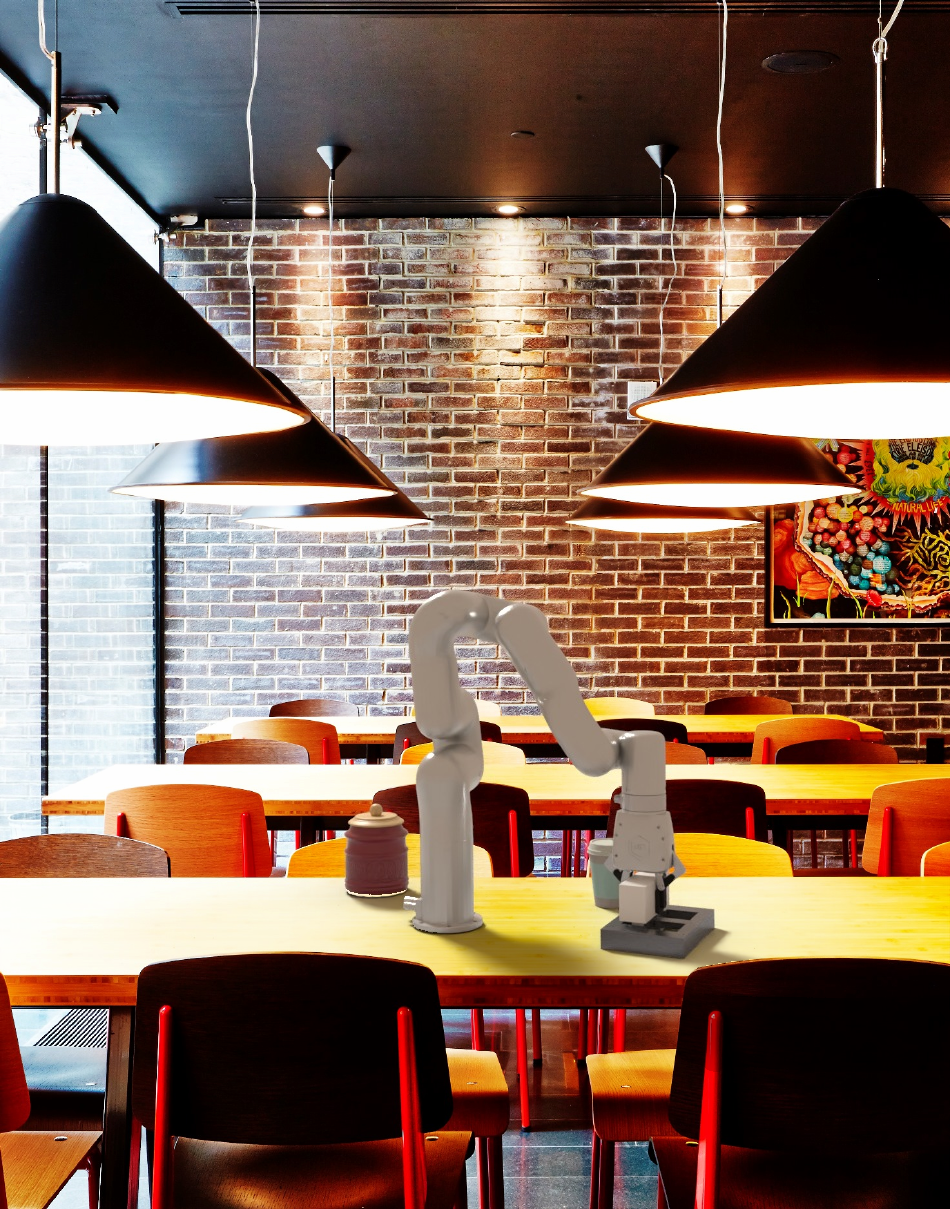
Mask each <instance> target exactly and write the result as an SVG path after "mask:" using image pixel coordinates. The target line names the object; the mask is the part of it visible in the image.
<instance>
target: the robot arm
mask: <svg viewBox="0 0 950 1209" xmlns="http://www.w3.org/2000/svg"><path fill="white" fill-rule="evenodd" d="M409 624H410V625H409V629H408V639H407V642H408V643H407V644H408V653H409V654H408V655H409V662H410V672H411V673H410V674H411V676H410V677H411V685H412V695H413V696H412V697H413V706H414V716H415V717H414V718H415V723H416V726H417V729H418V730H419V732H420V733H421V734H422V735H423V736H425V737H426V738H427V739H430V740H432V748H433V750H432V751H430V752H429V753H427V754H426V755H425V756H423V759H421V761H420V763H419V765H418V767H417V771H416V774H415V776H416V777H415V790H416V795H417V796H416V797H417V803H418V811H419V812H418V813H419V814H418V815H419V845H420V846H419V847H420V848H419V849H420V850H419V852H420V854H419V855H420V856H419V857H420V862H419V863H420V865H419V866H420V867H419V868H420V897H414V896H405V897H404V899H403V905H402V908H403V909H404V911H405V910H406V911H414V912H415V915H414V916H413V917H412V920H411V922H412V926H413V925H414V926H413V927H414V928H415V927H416V928H415V929H417V930H419V929H421V930H420V931H422V930H425V931H424V932H426V931H428V932H427V933H433V932H437V933H436V934H455V933H456V934H458V933H465V932H468V931H469V932H470V931H473V930H477V929H479V928H480V927H481V926H483V923H484V922H483V916H482V914H480V913H478V912H475V897H474V896H475V892H474V890H475V889H474V888H475V887H474V886H475V885H474V884H475V883H474V881H475V879H474V877H475V876H474V873H475V872H474V830H473V829H474V825H473V812H472V804H471V793H470V792H471V791H472V790H474V789H475V788H476V787H477V786H478V785H479V784H480V782H481V780H482V778H483V777H484V776H483V775H484V771H485V770H484V769H485V764H484V763H485V761H484V759H485V758H484V750H483V743H482V742H483V740H482V733H481V732H482V731H481V724H480V723H481V722H480V715H479V709H478V706H477V703H476V700H475V699H474V696H472V694H471V693H470V692H469V691H468V690H467V689H466V688H463V687H461V685H460V678H459V666H458V659H457V656H456V652H455V641H456V639H457V638H463V637H464V638H465V637H466V638H472V639H475V640H481V641H483V642H484V641H485V642H488V643H492V644H497V645H499V646H500V647H501V650H503V652H504V654H505V655H506V656H507V658H508V659H509V661H510V662H511V664H512V665H513V667H514V669H515V670H516V671H517V673H518V674H519V676H520V678H522V681H523V682H524V684H525V685H526V687H527V688H528V690H529V691H530V693H531V694H532V696H533V698H534V700H535V703H536V705H537V708H538V709H539V711H540V712H541V714H542V717H543V718H544V721H545V722H546V725H547V726H548V727H549V730H550V732H551V734H552V735H553V737H554V738H555V740H556V741H557V743H558V745H559V746H560V747H561V750H562V751H563V752H564V754H565V755H566V756H567V758H568V759H569V761H570V762H571V763H572V765H573V766H574V768H575V769H577V770H578V771H579V772H580V773H581V774H582V775H585V776H588V777H592V778H596V777H597V778H599V777H602V776H604V775H606V774H608V773H610V772H611V771H613V770H620V771H621V792H620V793H619V794H615V795H614V796H613V801H614V803H617V804H620V808H621V809H618V810H616V815H615V819H614V820H615V821H614V828H613V836H612V838H613V850H612V853H611V854H610V856H609V857H608V859H607V860H606V861H605V863H604V866H605V867H606V868H607V869H608V870H609V871H610V872H612V873H613V874H614V876H615V877H616V878H617V879H618V880H619V881H620V883H622V882H624V881H625V880H627V879H628V878H630V877H631V876H633V875H634V874H635V872H636V873H637V872H647V873H654V874H655V878H656V882H657V890H655V913H656V914H660V913H661V912H662V911H663V910H664V908H666V905H667V887H668V886H669V887H670V885H671V884H672V883H673V882H674V881H675V880H677V879H678V878H680V877H681V876H683V875H684V874H685V873H686V872H687V869H686V866H684V864H683V862H682V860H680V858H679V857H678V855H677V854H676V845H675V844H676V843H675V836H674V834H675V833H674V828H673V822H672V817H671V812H670V811H668V810H667V794H666V793H667V791H666V790H667V784H666V783H667V780H666V777H667V775H666V774H667V772H666V767H667V766H666V764H667V763H666V762H667V761H666V738H665V736H664V734H662V733H661V732H659V731H654V730H631V731H627V730H626V731H625V730H619V729H612V728H611V729H610V728H605V727H601V726H600V725H599V723H598V722H597V720H596V719H595V718H594V716H593V714H592V713H591V712H590V710H589V708H588V706H587V704H586V703H585V700H584V698H583V696H582V693H581V691H580V686H579V682H578V676H577V674H576V672H575V669H574V667H573V665H571V663H570V661H569V660H568V658H567V657H566V655H565V654H564V652H563V651H562V649H561V648H560V647H559V645H558V644H557V642H556V641H555V639H554V638H553V636H552V634H551V633H550V632H549V628H550V627H549V622H548V618H547V616H546V615H545V614H544V612H543V611H542V610H540V608H539V607H536V606H535V605H532V604H529V603H528V604H527V603H522V602H517V601H513V600H507V599H504V598H501V597H495V596H491V595H486V594H483V593H480V592H475V591H471V590H470V591H469V590H462V589H448V590H443V591H440V592H438V593H436V594H434V595H432V596H430V597H429V598H428V599H427V600H425V601H423V603H422V604H421V605H420V606H419V607H418V608H417V610H416V611H415V612H414V614H413V616H412V618H411V621H410V623H409ZM672 868H674V871H672V872H671V873H669V875H668V876H667V873H666V872H667V871H668V870H669V871H670V869H672Z"/></svg>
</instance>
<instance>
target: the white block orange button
mask: <svg viewBox="0 0 950 1209" xmlns="http://www.w3.org/2000/svg"><path fill="white" fill-rule="evenodd" d="M666 873H667V876H668V875H669V874H670V869H669V870H668V871H667V872H666ZM655 890H657V882H656V878H655V874H654V873H647V872H636V873H634V874H633V876H631V877H630V878H628V879H627V880H625V881H624V882H622V883H621V884H619V908H618V909H619V910H618V916H619V921H626V922H632V925H637V926H644V924H646V923H647V922H648V921H649V920H651V919H652V918H653V917H654V916H656V915H658V914H656V913H655ZM668 905H670V885H669V886H668V887H667V905H666V907H667V906H668ZM652 929H653V930H662V931H664V930H665V929H664V928H655V927H654V928H652Z"/></svg>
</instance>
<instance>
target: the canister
mask: <svg viewBox="0 0 950 1209" xmlns="http://www.w3.org/2000/svg"><path fill="white" fill-rule="evenodd" d="M404 822H405V820H404V819H403V818H401V817H400V816H398V814H397V813H395V812H389V811H388V812H387V811H383V807H382V805H381V804H379V803H373V804H371V806H370V807H369V811H368V812H362V813H358V814H356V815H355V816H354V817H353V818H351V819H350V820H348V822H347V823H348V825H350V826H349V828H348V830H345V832H344V837H345V839H346V847H345V848H344V854H345V856H344V858H345V859H344V862H345V878H344V887H345V890H346V889H347V890H349V891H350V892H354V893H358V894H369V895H370V894H371V895H382V894H392V893H397V892H401V891H404V890H406V889H407V888H408V886H409V884H410V882H409V880H410V878H409V868H408V867H409V865H408V864H409V863H408V862H409V859H408V857H409V855H408V851H409V847H408V846H407V842H406V841H407V838H406V837H407V836H408V835H409V831H408V830H407V829H406V828H404V826H403V824H404ZM407 890H408V889H407Z"/></svg>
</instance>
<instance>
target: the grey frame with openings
mask: <svg viewBox="0 0 950 1209" xmlns="http://www.w3.org/2000/svg"><path fill="white" fill-rule="evenodd" d="M654 927H655V928H664V929H663V930H653V929H652V928H654ZM715 927H716V924H715V908H705V907H696V906H685V905H678V904H677V905H676V904H669V905H668V906H667V907H666V908H664V910H663V911H662V912H661V913H660V914H658V915H656V916H654V917H653V918H652V919H651V920H649V921H648V922H647V923H646V924H644V926H637V925H632V922H626V921H619V915H617V916H616V917H615V918H613V919H612V920H611V921H609V922H608V923H607V924H605V925H604V926H603V927H601V928H600V932H599V933H600V936H599V937H600V949H602V950H609V951H617V952H624V953H632V952H633V954H642V955H648V956H649V955H651V956H658V957H666V958H675V959H682V960H683V959H684V960H685V958H686V957H687V956H688V955H689V954H690V953H691V952H692V951H693V950H694V949H695V948H696V947H697V946H698V945H699V944H700V943H701V942H703V940H704V939H705V938H706V937H707V936H708V935H709V934H710V933H711V932H712V931H713V930H714V929H715ZM666 929H667V930H666ZM669 930H673V931H669ZM674 930H676V931H674Z"/></svg>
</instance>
